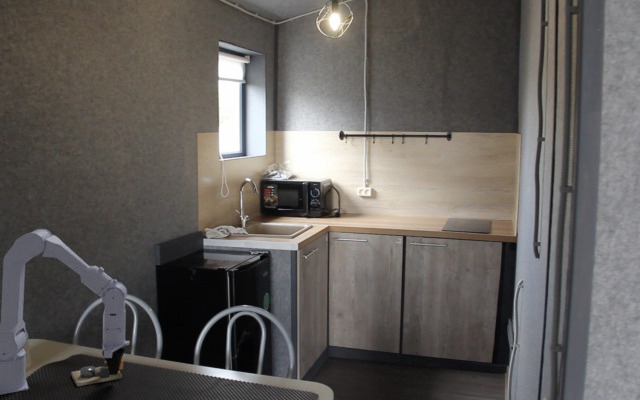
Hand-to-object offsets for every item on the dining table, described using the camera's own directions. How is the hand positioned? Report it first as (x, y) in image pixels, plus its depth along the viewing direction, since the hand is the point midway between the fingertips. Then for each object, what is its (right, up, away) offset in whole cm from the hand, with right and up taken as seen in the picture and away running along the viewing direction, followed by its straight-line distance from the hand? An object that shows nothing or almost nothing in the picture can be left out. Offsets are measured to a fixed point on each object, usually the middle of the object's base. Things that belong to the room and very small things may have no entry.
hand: (113, 373), depth 152 cm
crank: (-5, -1, +3) cm, 6 cm away
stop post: (-3, -2, +2) cm, 5 cm away
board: (-7, -2, +4) cm, 8 cm away
